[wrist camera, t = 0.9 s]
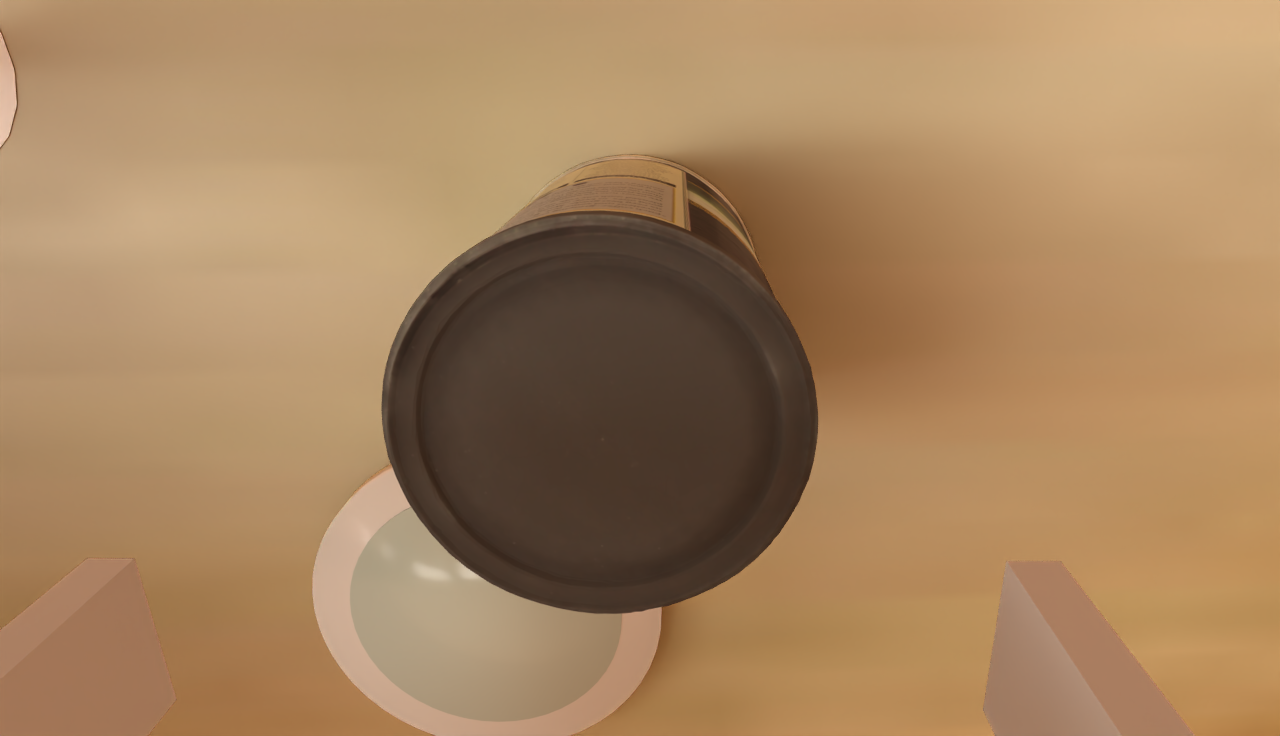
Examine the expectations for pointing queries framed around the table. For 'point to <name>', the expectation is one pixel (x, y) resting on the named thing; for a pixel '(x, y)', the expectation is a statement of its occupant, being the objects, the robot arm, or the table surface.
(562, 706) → the plate
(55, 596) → the robot arm
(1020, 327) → the table surface
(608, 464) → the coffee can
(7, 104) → the wineglass
